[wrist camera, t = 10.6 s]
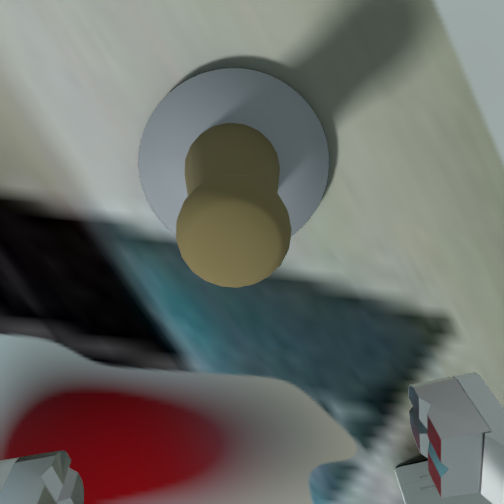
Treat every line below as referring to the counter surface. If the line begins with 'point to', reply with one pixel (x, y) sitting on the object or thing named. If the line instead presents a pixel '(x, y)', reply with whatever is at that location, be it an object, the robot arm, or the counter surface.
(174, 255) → the counter surface
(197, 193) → the cork
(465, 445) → the robot arm
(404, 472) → the skincare box
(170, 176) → the coaster
